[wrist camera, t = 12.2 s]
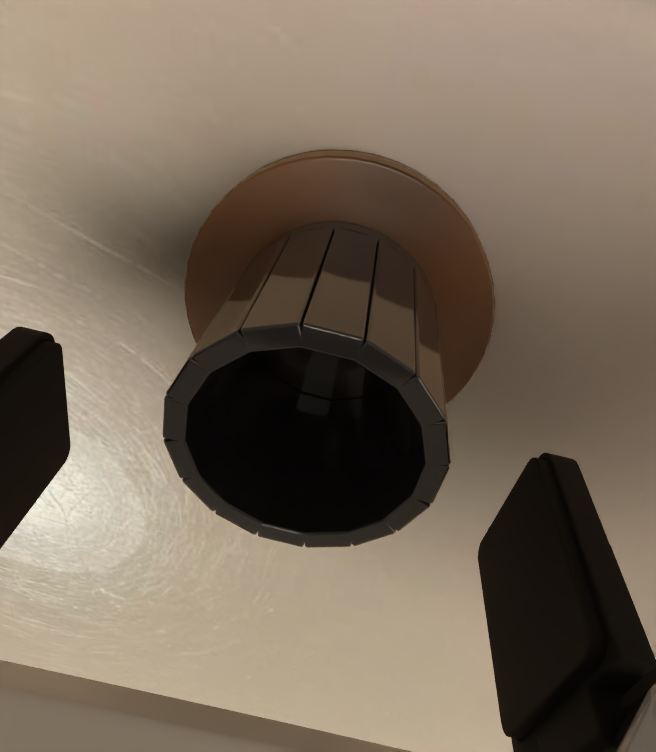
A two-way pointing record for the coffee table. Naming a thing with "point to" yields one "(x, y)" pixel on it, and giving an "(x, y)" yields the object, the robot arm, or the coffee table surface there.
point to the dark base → (360, 207)
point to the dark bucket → (316, 393)
